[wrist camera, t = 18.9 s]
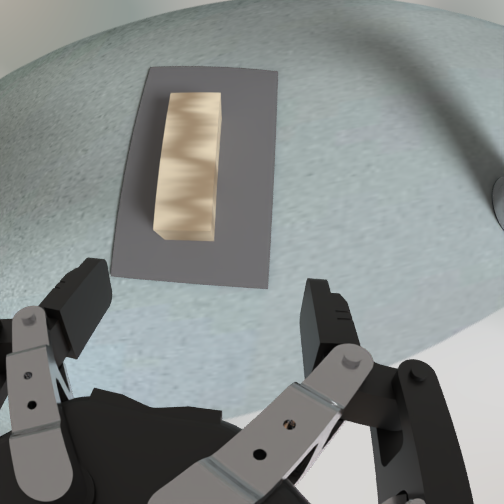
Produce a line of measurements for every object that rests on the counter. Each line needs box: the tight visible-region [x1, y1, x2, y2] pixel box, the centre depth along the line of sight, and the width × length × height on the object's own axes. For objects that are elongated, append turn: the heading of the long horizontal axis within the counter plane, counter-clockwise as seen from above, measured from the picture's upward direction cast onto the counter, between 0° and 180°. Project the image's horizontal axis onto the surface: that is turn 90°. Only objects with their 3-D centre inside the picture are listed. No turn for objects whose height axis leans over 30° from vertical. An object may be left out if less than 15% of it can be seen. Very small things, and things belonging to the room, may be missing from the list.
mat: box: [111, 66, 278, 289], centre depth 33 cm, size 16×26×1 cm, turn 176°
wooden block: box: [153, 92, 222, 241], centre depth 30 cm, size 5×5×14 cm
